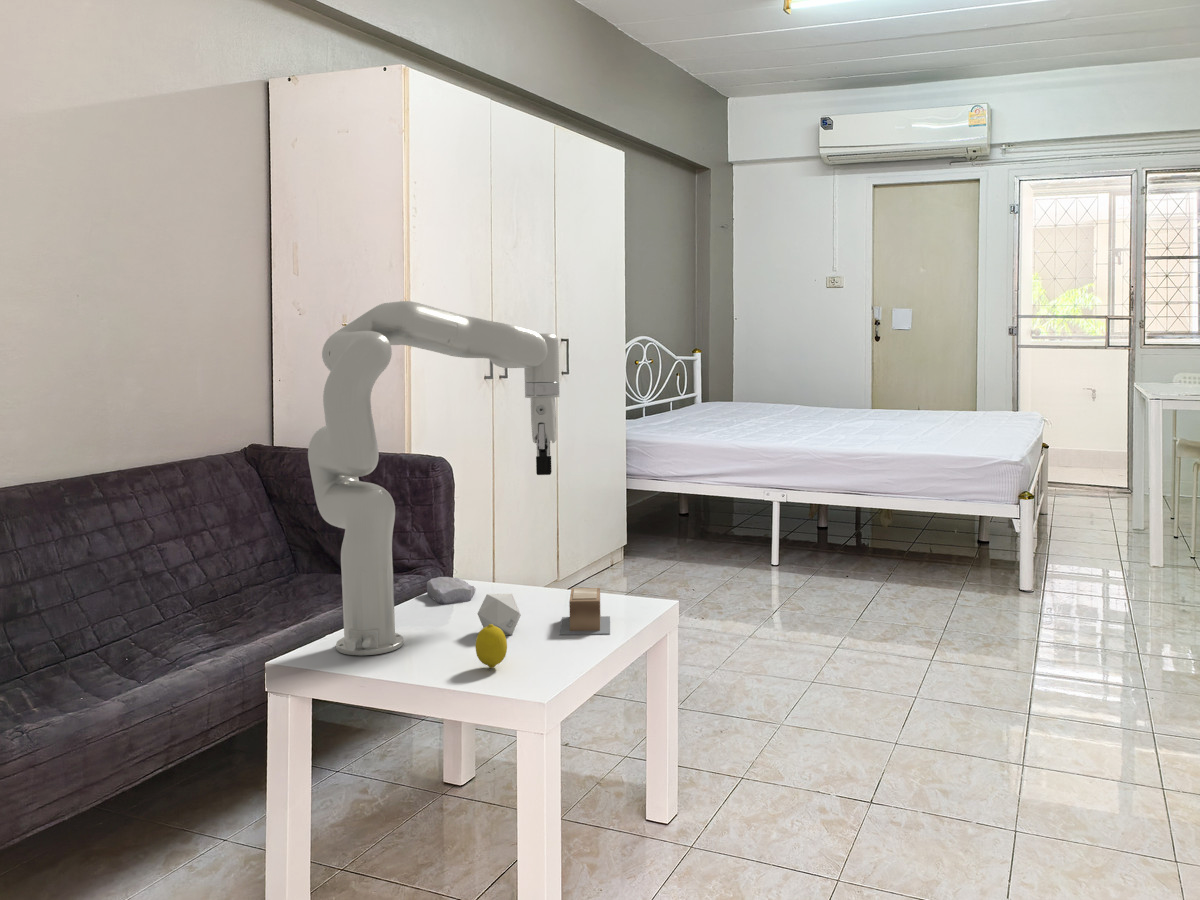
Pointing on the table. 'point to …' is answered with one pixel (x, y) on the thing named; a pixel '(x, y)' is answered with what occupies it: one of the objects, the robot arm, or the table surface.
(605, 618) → the pad
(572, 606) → the walnut block
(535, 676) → the table surface
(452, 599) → the stone block
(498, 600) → the die
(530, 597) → the table surface
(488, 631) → the lemon
